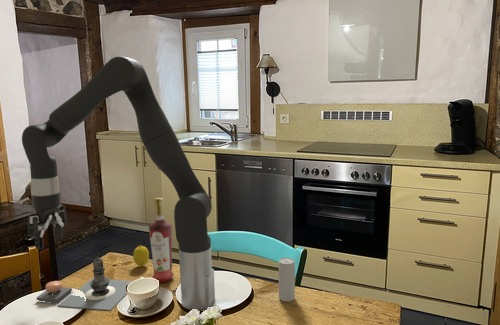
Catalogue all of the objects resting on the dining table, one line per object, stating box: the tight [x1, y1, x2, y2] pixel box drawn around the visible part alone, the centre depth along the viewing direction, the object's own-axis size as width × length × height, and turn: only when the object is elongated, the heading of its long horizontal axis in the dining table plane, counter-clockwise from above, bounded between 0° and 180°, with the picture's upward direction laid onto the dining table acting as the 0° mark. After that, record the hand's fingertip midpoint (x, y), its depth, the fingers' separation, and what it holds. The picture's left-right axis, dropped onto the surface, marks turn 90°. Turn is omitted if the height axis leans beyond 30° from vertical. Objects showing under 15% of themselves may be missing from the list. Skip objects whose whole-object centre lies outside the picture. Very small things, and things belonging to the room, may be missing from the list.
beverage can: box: [278, 257, 296, 303], centre depth 118 cm, size 5×5×12 cm
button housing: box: [36, 286, 73, 305], centre depth 123 cm, size 7×7×2 cm
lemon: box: [132, 245, 150, 268], centre depth 143 cm, size 6×6×8 cm
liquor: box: [148, 197, 175, 284], centre depth 131 cm, size 7×7×28 cm
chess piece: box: [90, 255, 111, 297], centre depth 123 cm, size 6×6×12 cm
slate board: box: [57, 277, 133, 312], centre depth 124 cm, size 17×18×1 cm
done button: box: [45, 280, 63, 295], centre depth 122 cm, size 4×4×3 cm
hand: (50, 243), depth 120 cm, fingers open, 8 cm apart
